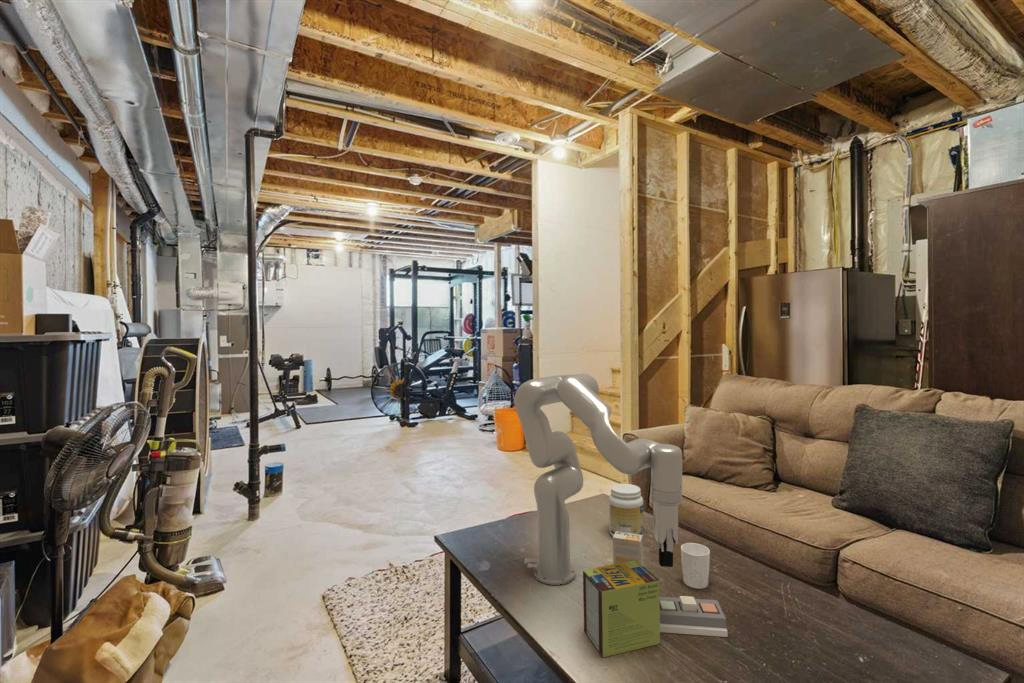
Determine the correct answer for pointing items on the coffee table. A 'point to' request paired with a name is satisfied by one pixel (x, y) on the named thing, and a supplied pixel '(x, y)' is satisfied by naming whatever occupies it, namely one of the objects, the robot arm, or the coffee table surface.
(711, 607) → the key
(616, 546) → the supplement box
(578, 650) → the coffee table surface
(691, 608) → the key
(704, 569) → the white cup
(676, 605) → the keypad
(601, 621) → the protein box
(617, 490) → the supplement tub
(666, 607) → the key
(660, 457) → the robot arm
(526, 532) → the coffee table surface
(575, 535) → the coffee table surface
